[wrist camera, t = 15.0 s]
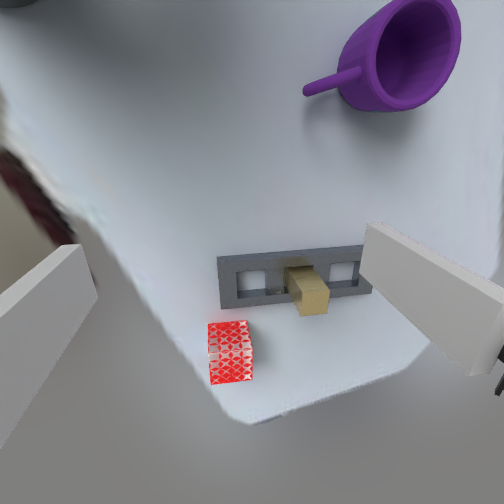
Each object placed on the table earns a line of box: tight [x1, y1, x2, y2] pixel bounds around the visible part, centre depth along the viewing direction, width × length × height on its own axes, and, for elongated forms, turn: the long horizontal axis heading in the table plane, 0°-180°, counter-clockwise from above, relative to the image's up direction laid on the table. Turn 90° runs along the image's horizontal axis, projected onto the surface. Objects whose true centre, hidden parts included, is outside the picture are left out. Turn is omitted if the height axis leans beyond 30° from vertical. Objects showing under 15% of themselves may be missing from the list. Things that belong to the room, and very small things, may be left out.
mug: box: [303, 0, 461, 112], centre depth 34 cm, size 17×11×10 cm, turn 107°
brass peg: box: [285, 265, 330, 316], centre depth 47 cm, size 4×4×10 cm
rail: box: [217, 245, 373, 309], centre depth 50 cm, size 30×10×2 cm, turn 91°
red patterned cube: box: [208, 320, 253, 385], centre depth 52 cm, size 8×8×8 cm
